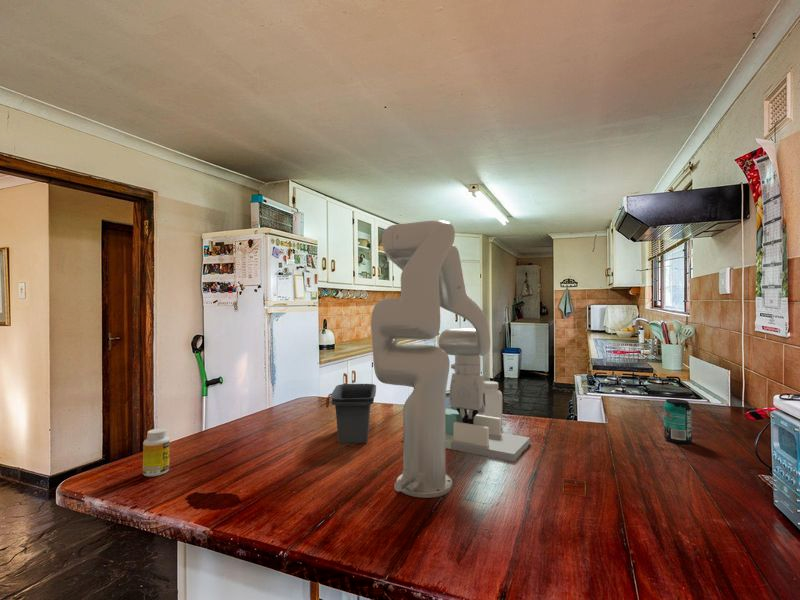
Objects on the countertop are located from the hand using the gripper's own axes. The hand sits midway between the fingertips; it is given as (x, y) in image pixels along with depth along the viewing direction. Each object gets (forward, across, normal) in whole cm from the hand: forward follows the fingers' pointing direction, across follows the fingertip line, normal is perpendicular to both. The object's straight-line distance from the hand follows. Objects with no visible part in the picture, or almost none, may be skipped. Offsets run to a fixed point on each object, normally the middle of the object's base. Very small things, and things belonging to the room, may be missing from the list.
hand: (468, 430), depth 122 cm
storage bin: (+4, -34, -14) cm, 36 cm away
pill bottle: (+4, 0, +19) cm, 19 cm away
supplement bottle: (+3, -55, -62) cm, 83 cm away
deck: (+3, -1, 0) cm, 3 cm away
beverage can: (+4, +53, +35) cm, 64 cm away
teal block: (+1, -6, +1) cm, 6 cm away
